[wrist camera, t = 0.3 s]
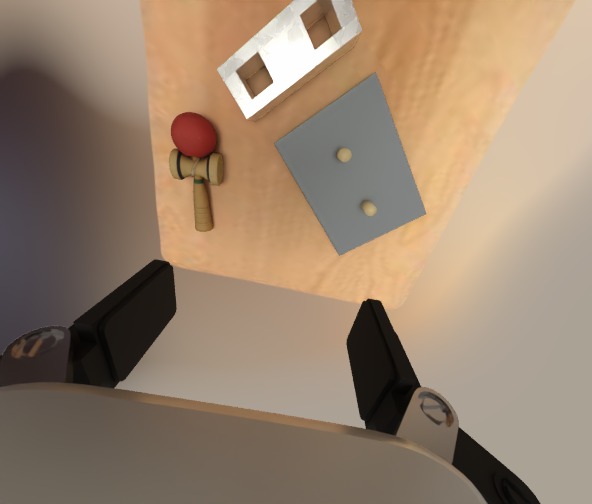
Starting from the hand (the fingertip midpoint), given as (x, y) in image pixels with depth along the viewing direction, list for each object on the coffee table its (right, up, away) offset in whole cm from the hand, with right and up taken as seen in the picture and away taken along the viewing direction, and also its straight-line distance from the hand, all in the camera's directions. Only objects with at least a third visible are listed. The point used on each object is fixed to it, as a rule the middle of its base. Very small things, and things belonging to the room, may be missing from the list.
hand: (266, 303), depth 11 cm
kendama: (-14, +15, +27) cm, 34 cm away
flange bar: (+1, +28, +19) cm, 34 cm away
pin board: (+11, +15, +25) cm, 31 cm away
